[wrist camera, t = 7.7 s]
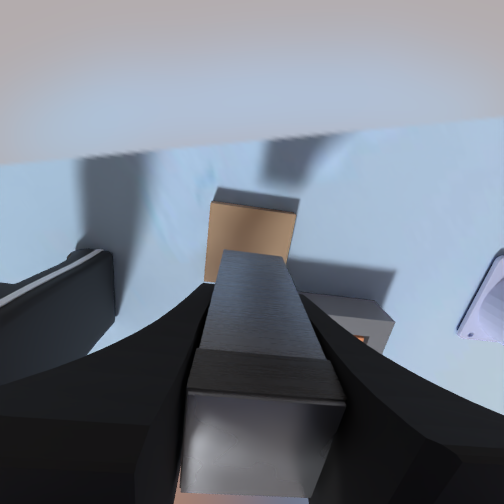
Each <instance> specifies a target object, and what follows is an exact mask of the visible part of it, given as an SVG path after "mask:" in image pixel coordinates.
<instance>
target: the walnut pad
mask: <svg viewBox="0 0 504 504" xmlns="http://www.w3.org/2000/svg"><path fill="white" fill-rule="evenodd" d="M295 219H296V214H295V213H294V212H287V211H280V210H273V209H266V208H259V207H252V206H245V205H238V204H231V203H224V202H217V201H212V202H211V205H210V217H209V228H208V240H207V252H206V263H205V275H204V281H207V282H216V279H217V274H218V270H219V266H220V262H221V258H222V254H223V250H224V249H226V250H234V251H242V252H250V253H258V254H266V255H274V256H282V257H283V260H284V262H285V264H286V262H287V257H288V252H289V247H290V243H291V238H292V233H293V228H294V224H295Z"/></svg>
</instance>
